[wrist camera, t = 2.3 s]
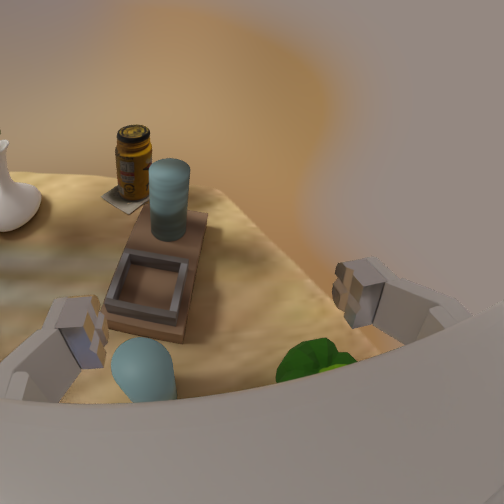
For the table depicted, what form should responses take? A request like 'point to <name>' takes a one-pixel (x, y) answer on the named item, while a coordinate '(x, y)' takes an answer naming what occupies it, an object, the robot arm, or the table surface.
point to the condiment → (131, 168)
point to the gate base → (158, 260)
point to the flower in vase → (15, 197)
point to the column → (144, 370)
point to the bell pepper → (311, 360)
